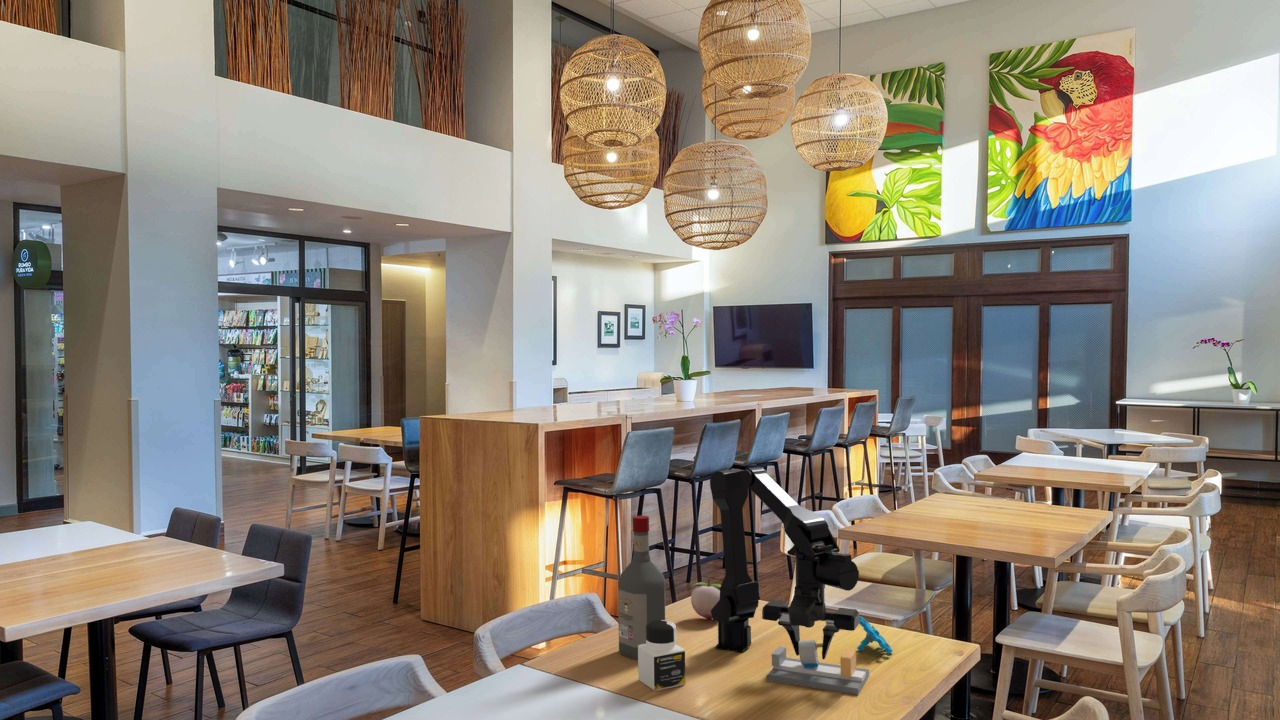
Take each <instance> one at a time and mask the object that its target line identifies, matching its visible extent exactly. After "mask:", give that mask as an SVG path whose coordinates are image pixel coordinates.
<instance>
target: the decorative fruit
mask: <svg viewBox="0 0 1280 720" xmlns="http://www.w3.org/2000/svg"><path fill="white" fill-rule="evenodd" d="M710 582H711V581H710V579H708V583H706V582H704V581H703V582H701V581H700V582H696V583H694V584H692V585H691V586H690V588H693V587H694V588H693V589H692V592H691V595H690V602H691V603H690V604H691V606H692V609H693V610H694V612H695V613H696V614H697V615H699V616H700V617H703V618H704V619H707V620H708V619H710V620H713V619H712V615H711V610H712V608H713V607H714V606H715V605H716V604H717V603H718V601H719V600H720V587H721V585H722V584H719V583H710Z"/></svg>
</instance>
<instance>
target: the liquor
mask: <svg viewBox="0 0 1280 720" xmlns="http://www.w3.org/2000/svg"><path fill="white" fill-rule="evenodd" d="M632 532H633V555H632V558H631V559H632V560H631V561H630V563H628V565H627V566H626V567H625V568H624V570H623V571H621V574H620V575H619V578H618V582H617V591H618V592H617V593H618V595H617V596H618V597H617V599H618V603H617V604H618V609H617V610H618V651H619V654H620V655H621V656H624V657H626V658H629V659H631V660H634V661H638V645H641V644H646V625H647V624H648V623H650V622H652V621H655V620H666V579H665V576H664V573H663V572H662V571H661V570H660V569H659V568H658V567H657V566H656V565H655V563H654V562H653V561H652V559H651V555H650V543H649V541H650V539H649V535H650V534H649V532H650V517H649V516H648V515H633V516H632Z"/></svg>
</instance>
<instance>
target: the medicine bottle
mask: <svg viewBox="0 0 1280 720" xmlns="http://www.w3.org/2000/svg"><path fill="white" fill-rule="evenodd" d="M637 665H638V666H637V668H638V669H637V672H638V674H637V676H638V677H637V678H638V680H639V681H640V682H641V683H642V684H644V685H646V687H648V688H650V689H651V690H653V691H654V692H658V691H663V690H666V689H671V688H676V687H677V688H678V687H679V686H680V687H681V686H685V685H686V650H685V648H683V647H681V646H680V645H679V644H677V626H676V624H675V623H674V622H672V621H670V620H666V619H665V620H655V621H652V622H650V623H648V624H647V625H646V644H641V645H638V660H637Z"/></svg>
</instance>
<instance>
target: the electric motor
mask: <svg viewBox="0 0 1280 720" xmlns="http://www.w3.org/2000/svg"><path fill="white" fill-rule="evenodd" d="M798 646H799V660H800V661H801V664H802V665H804V668H807V667H818V662H819V659H818V657H819V656H818V651H817V650H818V648H822V646H823V642H822V643H821V642H819V643H817V641H816V640H815V639H807V640H800V641H799V643H798Z"/></svg>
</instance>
